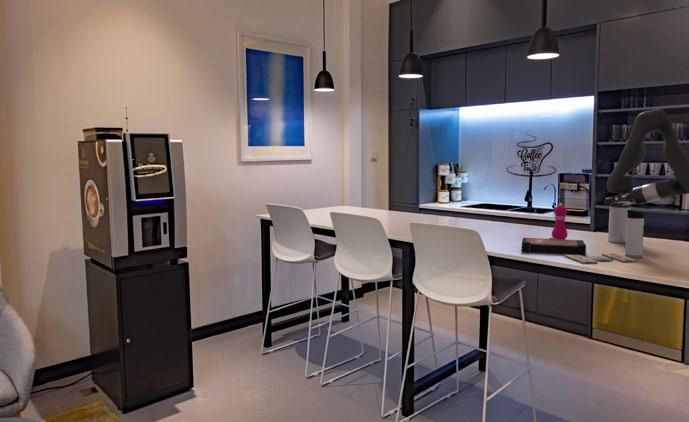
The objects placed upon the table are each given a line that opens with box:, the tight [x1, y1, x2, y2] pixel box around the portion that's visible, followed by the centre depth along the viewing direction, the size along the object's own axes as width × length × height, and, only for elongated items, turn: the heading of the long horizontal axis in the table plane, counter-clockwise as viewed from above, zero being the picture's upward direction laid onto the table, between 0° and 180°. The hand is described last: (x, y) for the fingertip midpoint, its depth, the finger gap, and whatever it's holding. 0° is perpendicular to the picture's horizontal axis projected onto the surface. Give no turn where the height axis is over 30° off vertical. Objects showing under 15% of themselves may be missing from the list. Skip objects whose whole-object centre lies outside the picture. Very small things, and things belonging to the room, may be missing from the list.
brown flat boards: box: [564, 253, 638, 265], centre depth 215 cm, size 23×14×1 cm, turn 96°
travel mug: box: [624, 209, 645, 259], centre depth 219 cm, size 6×7×20 cm
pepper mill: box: [551, 202, 568, 240], centre depth 252 cm, size 7×7×20 cm
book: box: [521, 237, 587, 257], centre depth 236 cm, size 26×18×5 cm
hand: (608, 203), depth 228 cm, fingers open, 8 cm apart
